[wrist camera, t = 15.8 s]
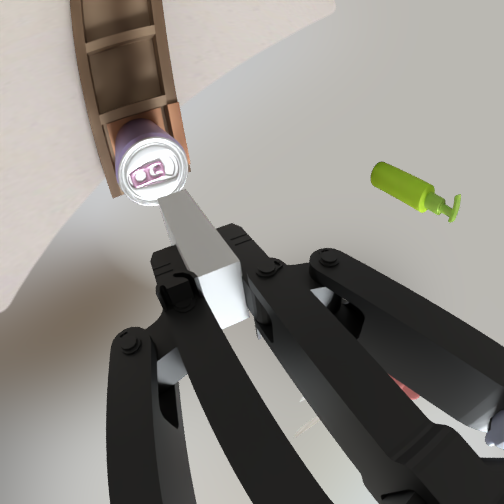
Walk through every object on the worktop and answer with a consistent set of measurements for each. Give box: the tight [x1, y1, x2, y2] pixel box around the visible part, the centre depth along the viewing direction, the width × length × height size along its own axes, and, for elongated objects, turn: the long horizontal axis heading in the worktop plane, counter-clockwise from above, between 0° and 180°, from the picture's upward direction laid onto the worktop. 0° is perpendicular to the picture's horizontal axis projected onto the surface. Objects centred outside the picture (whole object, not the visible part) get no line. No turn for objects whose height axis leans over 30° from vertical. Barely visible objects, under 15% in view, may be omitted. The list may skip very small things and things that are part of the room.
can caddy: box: [70, 0, 191, 198], centre depth 25 cm, size 10×28×4 cm, turn 6°
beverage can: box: [115, 118, 188, 206], centre depth 26 cm, size 6×6×15 cm
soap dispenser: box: [371, 162, 461, 222], centre depth 48 cm, size 6×7×20 cm
